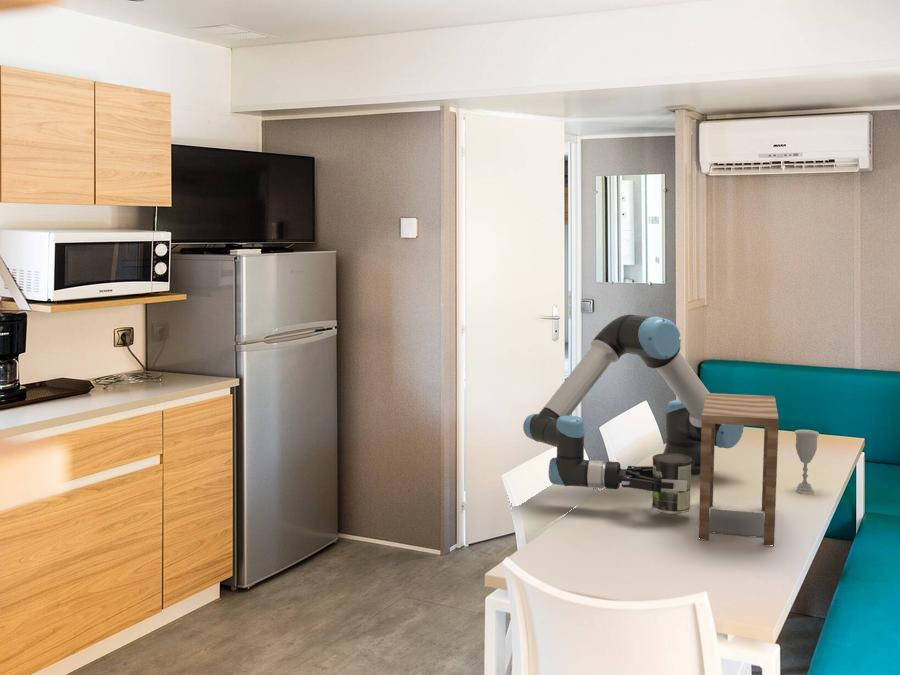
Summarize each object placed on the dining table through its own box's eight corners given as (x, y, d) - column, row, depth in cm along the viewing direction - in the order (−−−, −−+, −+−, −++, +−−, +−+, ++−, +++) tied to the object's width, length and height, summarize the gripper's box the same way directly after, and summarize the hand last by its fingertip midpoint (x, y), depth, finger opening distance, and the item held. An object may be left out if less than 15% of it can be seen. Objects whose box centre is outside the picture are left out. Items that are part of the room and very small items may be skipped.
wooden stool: (704, 503, 260) (707, 393, 256) (770, 508, 254) (774, 396, 251) (698, 539, 230) (701, 414, 226) (774, 546, 224) (778, 419, 220)
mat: (710, 510, 253) (710, 508, 253) (763, 514, 249) (763, 513, 249) (707, 532, 235) (707, 531, 235) (765, 537, 230) (765, 536, 230)
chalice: (818, 495, 267) (821, 435, 265) (794, 494, 268) (796, 434, 266) (814, 488, 274) (816, 430, 272) (790, 487, 275) (792, 429, 273)
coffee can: (658, 514, 241) (659, 463, 240) (647, 503, 251) (647, 453, 250) (696, 513, 242) (697, 461, 240) (683, 501, 252) (684, 452, 251)
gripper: (610, 477, 262) (690, 482, 256) (598, 499, 241) (685, 506, 234) (610, 451, 262) (690, 456, 255) (598, 472, 240) (685, 478, 233)
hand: (688, 480), depth 245 cm, fingers closed on coffee can, 10 cm apart
